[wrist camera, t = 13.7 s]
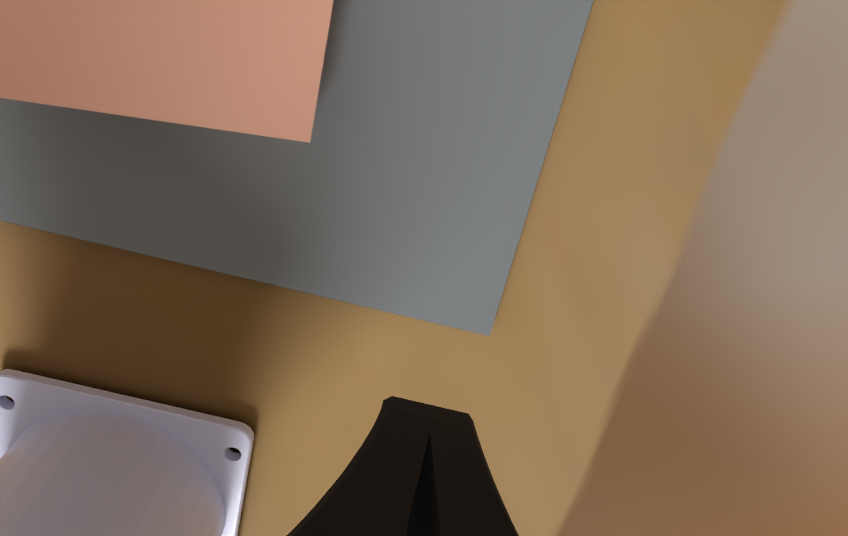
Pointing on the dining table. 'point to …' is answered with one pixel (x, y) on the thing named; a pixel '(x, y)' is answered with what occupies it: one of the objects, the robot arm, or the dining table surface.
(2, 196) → the mat
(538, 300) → the dining table surface
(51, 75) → the tile
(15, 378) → the robot arm
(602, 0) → the dining table surface
